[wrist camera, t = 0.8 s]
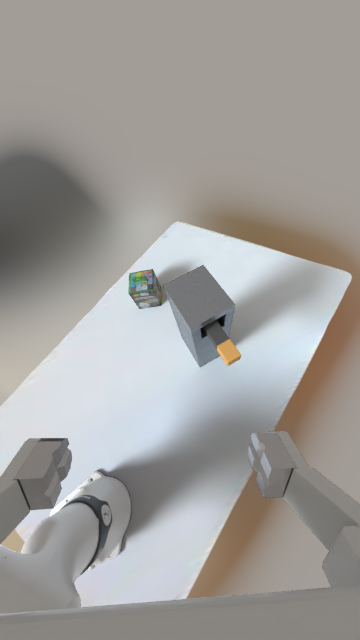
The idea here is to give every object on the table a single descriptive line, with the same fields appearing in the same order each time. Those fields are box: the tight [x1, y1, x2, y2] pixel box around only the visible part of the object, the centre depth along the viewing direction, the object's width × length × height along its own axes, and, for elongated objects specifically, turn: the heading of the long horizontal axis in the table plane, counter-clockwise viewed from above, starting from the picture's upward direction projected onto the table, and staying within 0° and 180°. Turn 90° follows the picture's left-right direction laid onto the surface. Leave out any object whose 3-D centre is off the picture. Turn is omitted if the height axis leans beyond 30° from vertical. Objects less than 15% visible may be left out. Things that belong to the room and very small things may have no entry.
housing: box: [163, 265, 235, 367], centre depth 57 cm, size 10×12×32 cm
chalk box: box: [129, 269, 161, 309], centre depth 76 cm, size 9×9×15 cm
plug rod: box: [202, 320, 241, 366], centre depth 46 cm, size 3×18×3 cm, turn 29°
